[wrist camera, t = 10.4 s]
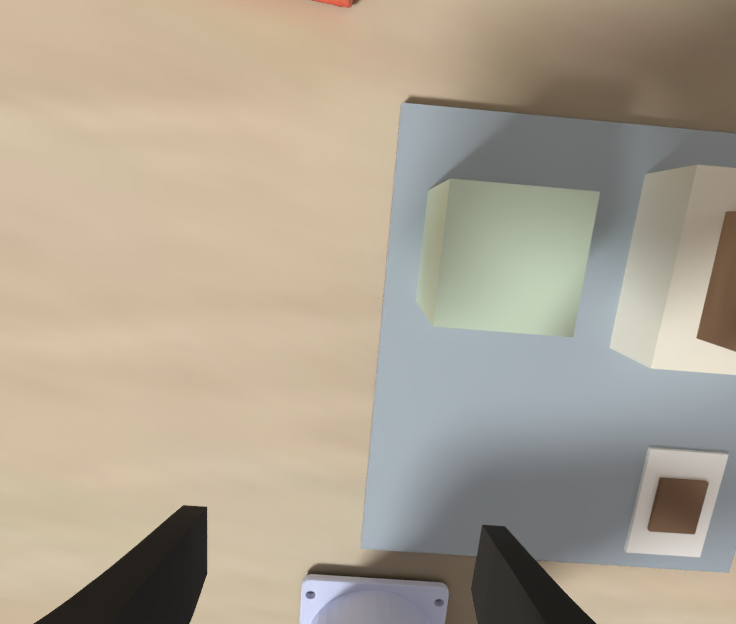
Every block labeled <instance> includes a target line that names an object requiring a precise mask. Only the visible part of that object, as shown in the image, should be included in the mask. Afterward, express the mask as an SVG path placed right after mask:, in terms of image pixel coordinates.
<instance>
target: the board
mask: <svg viewBox="0 0 736 624" xmlns="http://www.w3.org/2000/svg"><path fill="white" fill-rule="evenodd" d="M692 165H707V166H718V167H730V168H736V133H727V132H716V131H705V130H694V129H683V128H673V127H662V126H651V125H640V124H629V123H618V122H607V121H597V120H586V119H575V118H564V117H553V116H542V115H531V114H520V113H510V112H499V111H488V110H477V109H466V108H455V107H444V106H434V105H423V104H412V103H402V104H401V110H400V121H399V132H398V143H397V154H396V165H395V176H394V187H393V198H392V209H391V220H390V231H389V242H388V253H387V264H386V274H385V285H384V296H383V307H382V318H381V329H380V340H379V351H378V362H377V373H376V384H375V395H374V406H373V417H372V428H371V439H370V450H369V460H368V471H367V482H366V493H365V504H364V515H363V526H362V537H361V549H371V550H386V551H402V552H417V553H432V554H448V555H463V556H477V552H478V546H479V540H480V534H481V528H482V525H494V526H505V527H506V528H507V529H508V530H509V531H510V532H511V533H512V534H513V536H514V537H515V538H516V539H517V540H518V541H519V542H520V543H521V545H522V546H523V547H524V548H525V549H526V550H527V551H528V552H529V554H530V555H531V556H532V557H533V558H534V559H535V560H540V561H555V562H571V563H586V564H601V565H617V566H632V567H647V568H663V569H678V570H693V571H709V572H724V573H729V570H730V567H731V564H732V560H733V557H734V554H735V550H736V375H728V374H715V373H702V372H689V371H676V370H663V369H651V368H649V367H647V366H645V365H643V364H641V363H639V362H637V361H635V360H633V359H631V358H629V357H627V356H625V355H623V354H621V353H619V352H617V351H615V350H613V349H611V348H609V347H610V342H611V337H612V332H613V328H614V323H615V318H616V313H617V308H618V303H619V298H620V293H621V289H622V284H623V279H624V274H625V269H626V264H627V259H628V254H629V250H630V245H631V240H632V235H633V230H634V225H635V220H636V216H637V211H638V206H639V201H640V196H641V191H642V186H643V181H644V177H645V174H648V173H654V172H659V171H665V170H670V169H676V168H681V167H687V166H692ZM448 179H461V180H473V181H484V182H495V183H507V184H518V185H530V186H541V187H552V188H564V189H575V190H587V191H598V192H600V196H599V201H598V206H597V212H596V217H595V222H594V228H593V233H592V238H591V244H590V249H589V254H588V260H587V265H586V271H585V276H584V281H583V287H582V292H581V297H580V303H579V308H578V313H577V319H576V324H575V330H574V335H573V337H560V336H547V335H535V334H522V333H509V332H497V331H484V330H471V329H459V328H446V327H433V326H432V324H431V323H430V321H429V320H428V318H427V317H426V315H425V314H424V313H423V311H422V310H421V308H420V307H419V305H418V304H417V302H416V296H417V286H418V277H419V268H420V258H421V249H422V240H423V230H424V221H425V212H426V202H427V193H428V190H430V189H432V188H434V187H435V186H437V185H439V184H441V183H443V182H445V181H447V180H448Z"/></svg>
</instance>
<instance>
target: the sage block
mask: <svg viewBox="0 0 736 624" xmlns="http://www.w3.org/2000/svg"><path fill="white" fill-rule="evenodd" d="M599 196H600V192H598V191H587V190H575V189H564V188H552V187H541V186H530V185H518V184H507V183H495V182H484V181H473V180H461V179H448V180H447V181H445V182H443V183H441V184H439V185H437V186H435V187H434V188H432V189H430V190H428V193H427V202H426V212H425V221H424V230H423V240H422V249H421V258H420V268H419V277H418V286H417V296H416V302H417V304H418V305H419V307H420V308H421V310H422V311H423V313H424V314H425V315H426V317H427V318H428V320H429V321H430V323H431V324H432V326H433V327H446V328H459V329H471V330H484V331H497V332H509V333H522V334H535V335H547V336H560V337H573V335H574V330H575V324H576V319H577V313H578V308H579V303H580V297H581V292H582V287H583V281H584V276H585V271H586V265H587V260H588V254H589V249H590V244H591V238H592V233H593V228H594V222H595V217H596V212H597V206H598V201H599Z"/></svg>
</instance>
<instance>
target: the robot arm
mask: <svg viewBox="0 0 736 624" xmlns="http://www.w3.org/2000/svg"><path fill="white" fill-rule="evenodd" d="M206 575H207V507H200V506H185V505H183V506H182V507H181V508H180V509H178V510H177V511H176V512H175V513H174V514H172V515H171V516H170V517H169V518H168V519H167V520H166V521H164V522H163V523H162V524H161V525H160V526H159V527H157V528H156V529H155V530H154V531H153V532H152V533H151V534H149V535H148V536H147V537H146V538H145V539H144V540H142V541H141V542H140V543H139V544H138V545H137V546H135V547H134V548H133V549H132V550H131V551H129V552H128V553H127V554H126V555H125V556H123V557H122V558H121V559H120V560H119V561H117V562H116V563H115V564H114V565H113V566H111V567H110V568H109V569H108V570H106V571H105V572H104V573H103V574H101V575H100V576H99V577H97V578H96V579H95V580H93V581H92V582H91V583H90V584H88V585H87V586H86V587H84V588H83V589H82V590H80V591H79V592H78V593H77V594H75V595H74V596H73V597H71V598H70V599H69V600H67V601H66V602H64V603H63V604H62V605H60V606H59V607H57V608H56V609H55V610H53V611H52V612H50V613H49V614H48V615H46V616H45V617H43V618H42V619H40V620H39V621H37V622H36V623H34V624H189V623H190V621H191V619H192V616H193V613H194V611H195V608H196V605H197V602H198V599H199V596H200V593H201V590H202V587H203V584H204V581H205V578H206ZM471 590H472V595H473V601H474V606H475V612H476V617H477V622H478V624H596V623H595V622H594V621H593V620H592V619H591V618H590V617H589V616H588V615H587V614H586V613H585V612H584V611H583V610H582V609H581V608H580V607H579V606H578V605H577V604H576V603H575V602H574V601H573V600H572V599H571V598H570V597H569V596H568V595H567V594H566V593H565V592H564V591H563V590H562V589H561V588H560V586H559V585H558V584H557V583H556V582H555V581H554V580H553V579H552V578H551V577H550V576H549V575H548V574H547V572H546V571H545V570H544V569H543V568H542V567H541V566H540V565H539V564H538V563H537V561H536V560H535V559H534V558H533V557H532V556H531V555H530V554H529V552H528V551H527V550H526V549H525V548H524V547H523V546H522V545H521V543H520V542H519V541H518V540H517V539H516V538H515V537H514V536H513V534H512V533H511V532H510V531H509V530H508V529H507V528H506V527H505V526H494V525H482V528H481V534H480V540H479V546H478V552H477V558H476V564H475V570H474V576H473V582H472V588H471ZM308 591H313V592H314V593H309V592H308ZM437 599H441V600H440V601H436V600H437ZM448 599H449V591H448V587H447V586H446V585H445V584H444V583H441V582H428V581H412V580H396V579H381V578H365V577H349V576H333V575H318V574H309V575H307V576H305V577H304V578H303V582H302V591H301V608H300V624H445V619H446V613H447V606H448Z"/></svg>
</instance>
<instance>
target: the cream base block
mask: <svg viewBox="0 0 736 624" xmlns="http://www.w3.org/2000/svg"><path fill="white" fill-rule="evenodd" d="M729 211H736V168H730V167H718V166H707V165H692V166H687V167H681V168H676V169H670V170H665V171H659V172H654V173H648V174H645V177H644V181H643V186H642V191H641V196H640V201H639V206H638V211H637V216H636V220H635V225H634V230H633V235H632V240H631V245H630V250H629V254H628V259H627V264H626V269H625V274H624V279H623V284H622V289H621V293H620V298H619V303H618V308H617V313H616V318H615V323H614V328H613V332H612V337H611V342H610V347H609V348H611V349H613V350H615V351H617V352H619V353H621V354H623V355H625V356H627V357H629V358H631V359H633V360H635V361H637V362H639V363H641V364H643V365H645V366H647V367H649V368H651V369H663V370H676V371H689V372H702V373H715V374H728V375H736V352H735V351H732V350H729V349H726V348H723V347H720V346H717V345H714V344H712V343H709V342H706V341H703V340H700V339H697V338H696V337H697V333H698V329H699V324H700V320H701V316H702V311H703V307H704V303H705V299H706V294H707V290H708V286H709V281H710V277H711V273H712V268H713V264H714V260H715V256H716V251H717V247H718V243H719V238H720V234H721V230H722V225H723V221H724V217H725V213H726V212H729Z"/></svg>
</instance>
